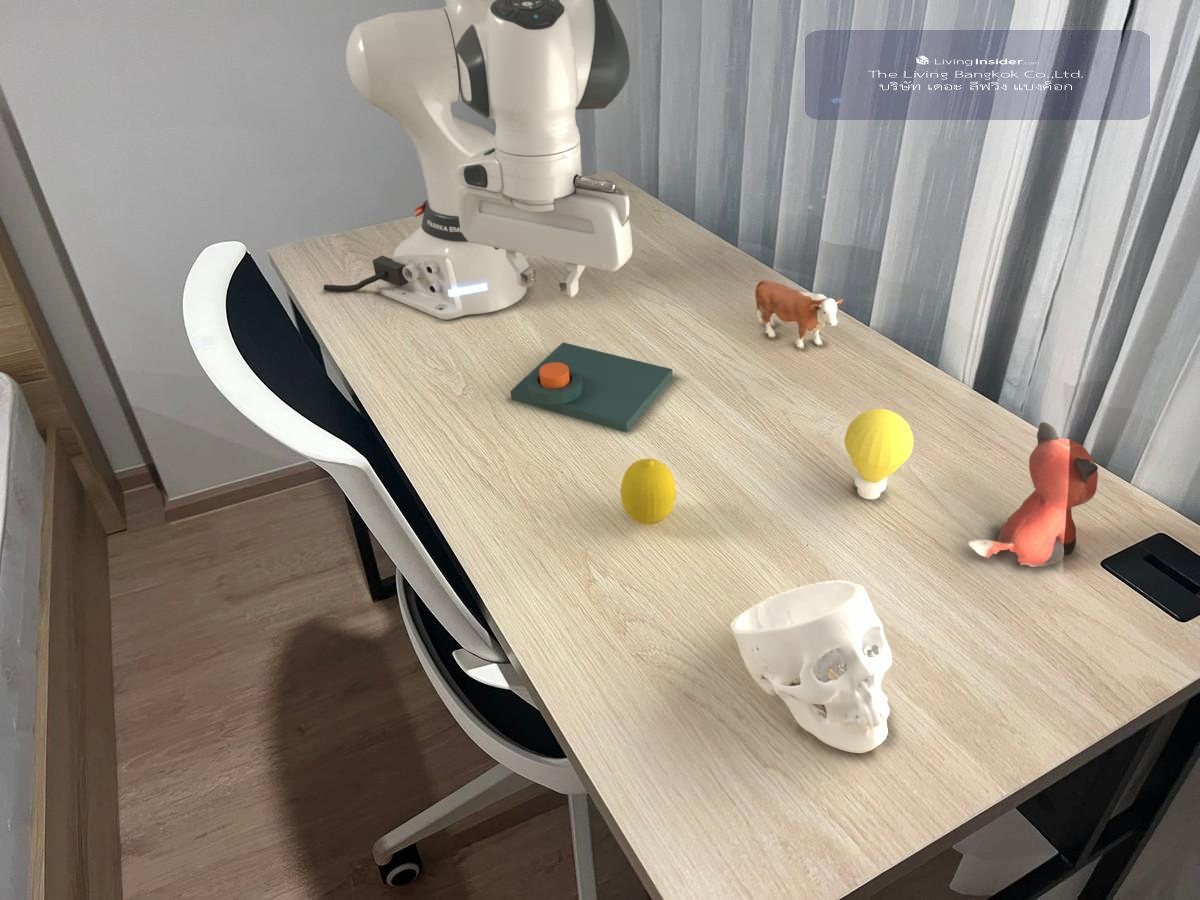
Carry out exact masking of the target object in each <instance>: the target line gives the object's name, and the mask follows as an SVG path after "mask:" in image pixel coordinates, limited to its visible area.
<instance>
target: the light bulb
mask: <svg viewBox="0 0 1200 900" xmlns="http://www.w3.org/2000/svg"><path fill="white" fill-rule="evenodd" d="M844 447H845V450H846V452H847V454H848V456H849V459H850V461H851V463H852V465H853V466H854V468H855V469H856V471H857V472H856V474H855V478H854V484H855V487H857V494H858V496H860V497H861V498H863V499H865V500H875V499H877V498H879V497H880V496H881V493H882V492H884V491H885V490H886V488H887V485H888V480H889V478H888V477H889V476H890V475H892V474H893V473H895V472H896V471H897V470H898V469H899V468H900V467H901V466H902V465H903V464H904V463H905V462H906V461H907V460H908V459H909V458H910V457H911V456H912V455H911V454H912V452H913V448H914V434H913V431H912V429H911V427H910V425H909V424H908V422H907V421H906V420H905V418H903V417H902V416H901V415H900V414H898V413H897V412H894V411H892V410H889V409H884V408H874V409H869V410H866V411H864V412H861V413H860V414H858V415H857V416H855V418H854V419H853V420H852V421H850V423H849V425H848V427H847V429H846V433H845V435H844Z"/></svg>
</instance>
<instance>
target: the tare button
mask: <svg viewBox="0 0 1200 900" xmlns="http://www.w3.org/2000/svg"><path fill="white" fill-rule="evenodd" d="M539 373H540V384H541V385H542V387H545V388H548V389H559V388H562V387H565V386H567V385H568V384H569V382H570V377H569V368H568V366H567V365H565V364H563V363H558V362H553V363H548V364H545V365H543V366H542V367H541V368H540V370H539Z"/></svg>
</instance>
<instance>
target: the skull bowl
mask: <svg viewBox="0 0 1200 900" xmlns="http://www.w3.org/2000/svg"><path fill="white" fill-rule="evenodd" d="M730 630H731V632H732V635H733V637H734V639H735V641H736V644H737V646H738V649H739V652H740V656H741V658H742V661H743V662H744V665H745V667H746V669H747V671H748V673H749V674H750V676H751V677H752V679H753V680H754V681H755V683H756V684H757V685H759V687H760V688H761V689H762V690H763V691H764V692H765V693H767V694H768V695H770V696H776V695H777V696H778V697H779V698H781V700H782V701H783V703H785V704H786V706H787V708H788V709H789V711H790V712H791V714H792V717H794V719H795V720H796V722H797V724H798V725H799V726H800V727H801V728H802V729H804V730H805V731H806V732H809V733H810V734H812V735H813V736H814V737H816V738H817V739H819V740H820V741H821V742H822V743H824V744H826V745H827V746H830V747H832V748H834V749H837V750H840V751H843V752H848V753H851V754H863V753H868V752H870V751H873V750H874V749H875V748H877V747H879V746H880V745H881V744H883V742H884V741H885V740H886V738H887V736H888V734H889V733H888V732H889V730H888V725H887V720H888V717H889V716H890V713H891V711H890V707H889V704H888V697H887V695H885V693H884V692H883V691H882V687H881V684H882V680H883V677H884V675H885V673H886V672H887V671H888V670H889V669H890V667H892V663H893V656H892V652H891V649H890V646H889V644H888V641H887V639H886V636H885V632H884V628H883V622H882V621H881V619H880V618H879V617H878V616H877V614H876V612H875V610H874V608H873V605H872V602H871V600H870V598H869V595H868V593H867V591H866V589H865V587H864V586H863V585H862V584H859V583H855V582H852V581H848V580H835V579H834V580H826V581H819V582H815V583H811V584H810V583H809V584H806V585H802V586H797V587H795V588H791V589H789V590H785V591H782V592H779V593H777V594H774V595H772V596H770V597H768V598H766V599H764V600H762V601H760V602H758V603H756V604H754V605H753V606H751V607H749V608H747V609H745V610H744V611H742V612H741V613H739V614H738V615H737V616H736V617H735V618H733V620H732V621H731V623H730ZM830 669H831V670H832V671H834V672H836V673H837V674H838V675H839V676H838V677H836V679H832V678H828V676H829V674H828V673H829V670H830ZM792 683H794V684H796V685H791V684H792ZM798 683H800V684H798ZM797 684H798V685H797ZM815 705H823V706H824V708H825V710H826V711H824V710H822V709H820V708H818V707H816V706H815Z"/></svg>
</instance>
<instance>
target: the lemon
mask: <svg viewBox="0 0 1200 900" xmlns="http://www.w3.org/2000/svg"><path fill="white" fill-rule="evenodd" d="M676 497H677V491H676V482H675V479H674V476H673V474H672V472H671V470H670V469H669V467H668V466H667V465H666V464H664V463H663V462H662V461H660V460H657V459H654V458H641V459H639V460H637V461H635V462H633V463H631V465H630V466H629V467H628V468H627V469H626V471H625V472H624V475H623V477H622V480H621V486H620V499H621V504H622V507H623V509H624V511H625V513H626V514H627V516H628V517H630V519H632V520H633V521H635V522H637V523H639V524H643V525H653V524H657V523H660V522H662V521H663V520H664V519H666V518H667V517H668V516H669V515H670V514H671V512H672V510H673V508H674V506H675V502H676Z"/></svg>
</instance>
